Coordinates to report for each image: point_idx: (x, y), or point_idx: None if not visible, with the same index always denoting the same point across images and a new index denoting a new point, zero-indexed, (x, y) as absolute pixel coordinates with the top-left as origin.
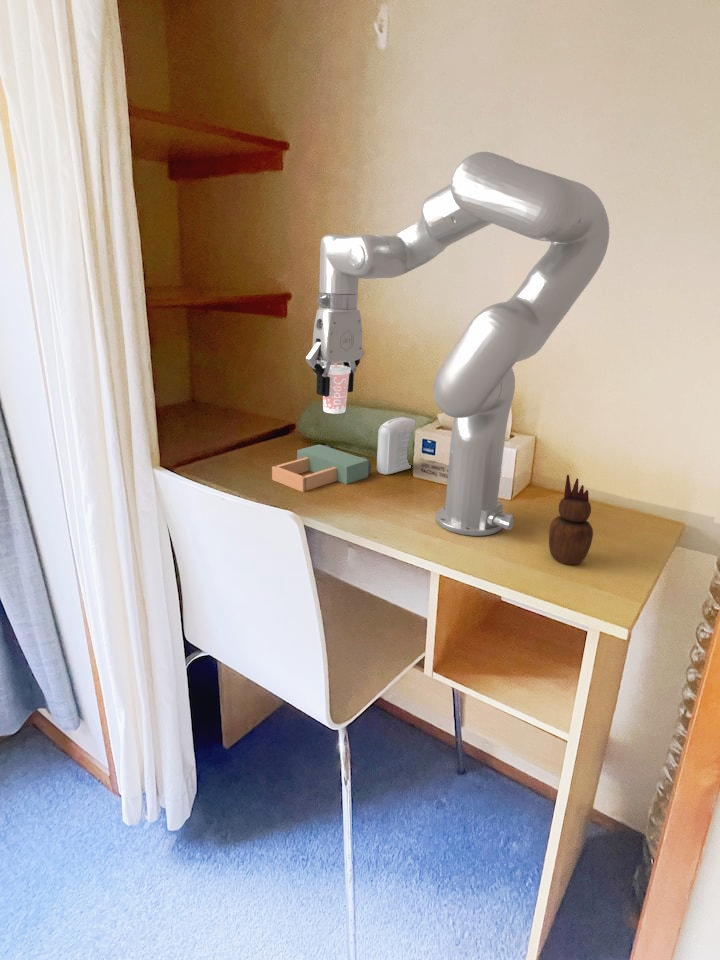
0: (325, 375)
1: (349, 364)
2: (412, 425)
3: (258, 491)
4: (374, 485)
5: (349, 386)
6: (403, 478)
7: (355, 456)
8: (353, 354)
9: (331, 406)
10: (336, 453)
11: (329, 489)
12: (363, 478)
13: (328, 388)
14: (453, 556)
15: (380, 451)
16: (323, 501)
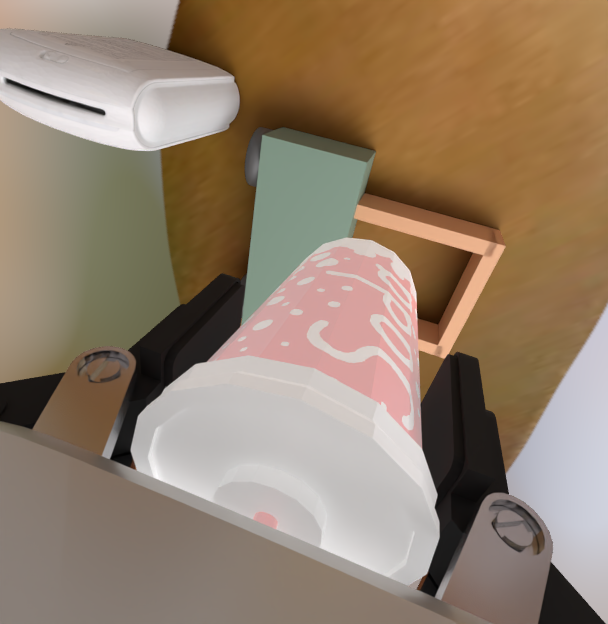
0: (510, 514)
1: (114, 443)
2: (13, 32)
3: (543, 330)
4: (335, 63)
5: (228, 307)
6: (222, 9)
7: (261, 192)
8: (6, 550)
9: (415, 304)
10: (274, 255)
11: (441, 174)
12: (302, 132)
13: (470, 391)
14: None
15: (203, 117)
16: (555, 132)
